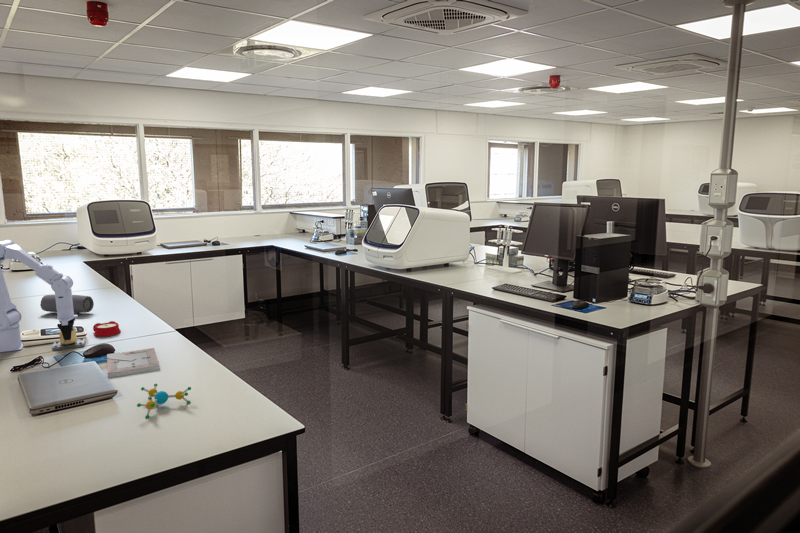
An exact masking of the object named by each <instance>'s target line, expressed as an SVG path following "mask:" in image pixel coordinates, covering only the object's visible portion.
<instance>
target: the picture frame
mask: <svg viewBox="0 0 800 533" xmlns="http://www.w3.org/2000/svg"><path fill="white" fill-rule="evenodd" d="M106 361H107V362H106V367H107V370H106V371H107V374H106V375H107V378H114V377H120V376H125V375H126V376H127V375H132V374H133V375H134V374H138V373H144V372H151V371H152V372H153V371H157V370H160V363H159V360H158V357H157V353H156V350H155V347H152V348H144V349H138V350H131V351H125V352H124V351H123V352H114V353H107V354H106Z"/></svg>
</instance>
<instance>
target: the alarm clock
mask: <svg viewBox="0 0 800 533" xmlns="http://www.w3.org/2000/svg"><path fill="white" fill-rule="evenodd" d="M119 326H120V325H119V322H116V321H113V320H110V321H109V322H103V323H99V322H97V323H94V325H93V327H92V330H93V332H94V333H93V335H94V336H95V337H98V338H101V337H102V338H103V337H109V338H110V337H112V336H116V335H118V334H121V332H122V331H121V329H120V327H119Z"/></svg>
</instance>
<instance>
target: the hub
mask: <svg viewBox="0 0 800 533" xmlns="http://www.w3.org/2000/svg"><path fill="white" fill-rule="evenodd" d="M58 333H59V340H60V341H59V342H60V344H70V343H74V342H77V338H78V337H77V328H73V329H72V332H71V340H64V338H63V335H62V332H61V330H60V329H59V332H58Z"/></svg>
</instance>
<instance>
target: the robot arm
mask: <svg viewBox="0 0 800 533" xmlns="http://www.w3.org/2000/svg"><path fill="white" fill-rule="evenodd" d="M6 259H7V260H8V259H9V260H17V261H18V262H19V263H21V264H23V265H25V266H26V267H27V268H29V269H31V270H33V271H34V272H35V276H36V277H38V278H39V279H41V280H42V281H44V282H45V283H47V284H48V285H50V288H51V290H52V291H53V292H54V295H55V298H56V307H57V312H56V314H57V317H56V319H57V321H58V322H59V323H57V325H56V327H57V328H58V329H59V331H60V330H61V332H62V335H63V338H64V340H71V332H72V329H74V324H75V321H76V318H78V317H79V316H78V315H79V314H77V315H74V310H73V300H72V295H73V293H72V287H73V285H74V281H73V279H72V278H71V277H70V276H69V275H64V274H63V273H62V272H61V273H60V271H57V270H55V269H54V266H53V265H52V264H50V265H48V263H47V264H42V263H41V262H39V261H38V260H37V259H35V258H34V257H33V256H32V255H30V254H29V253H27V252H26V251H25V250H24V249H23V248H22V247H21V246H20V245H19V244H16V243H15V242H14V241H12V240H10V239H3V240H0V265H1V264H3V262H5V260H6ZM22 316H23V315H22V313H21V312H20V311H19V310H18V308H17V305H15V303H13V302H12V300H11V296H10V294H9V291H8V287H7V283H6V280H5V277H4V274H3V270H2V268H1V266H0V353H5V352H12V351H14V352H15V351H20V350H22V349H23V347H24V346H25V344H24V345H23V344H22V337H21V336H22V335H21V330H20V322H21V321H22Z"/></svg>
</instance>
